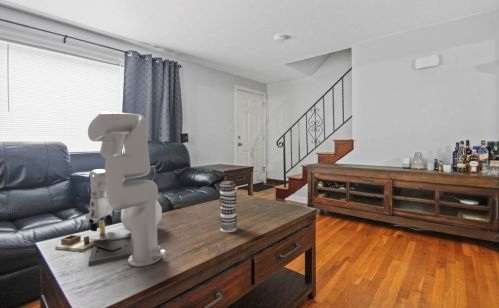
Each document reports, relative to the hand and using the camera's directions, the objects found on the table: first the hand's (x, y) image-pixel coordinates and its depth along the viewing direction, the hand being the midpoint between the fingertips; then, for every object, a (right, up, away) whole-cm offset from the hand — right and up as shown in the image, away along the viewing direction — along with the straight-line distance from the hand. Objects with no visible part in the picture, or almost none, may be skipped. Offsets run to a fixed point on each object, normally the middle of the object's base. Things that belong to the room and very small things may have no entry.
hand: (101, 227), depth 127 cm
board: (-3, -5, -13) cm, 14 cm away
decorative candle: (+64, -2, +4) cm, 64 cm away
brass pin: (0, -4, 0) cm, 4 cm away
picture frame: (+16, -5, -18) cm, 25 cm away
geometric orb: (+19, -3, +3) cm, 20 cm away
